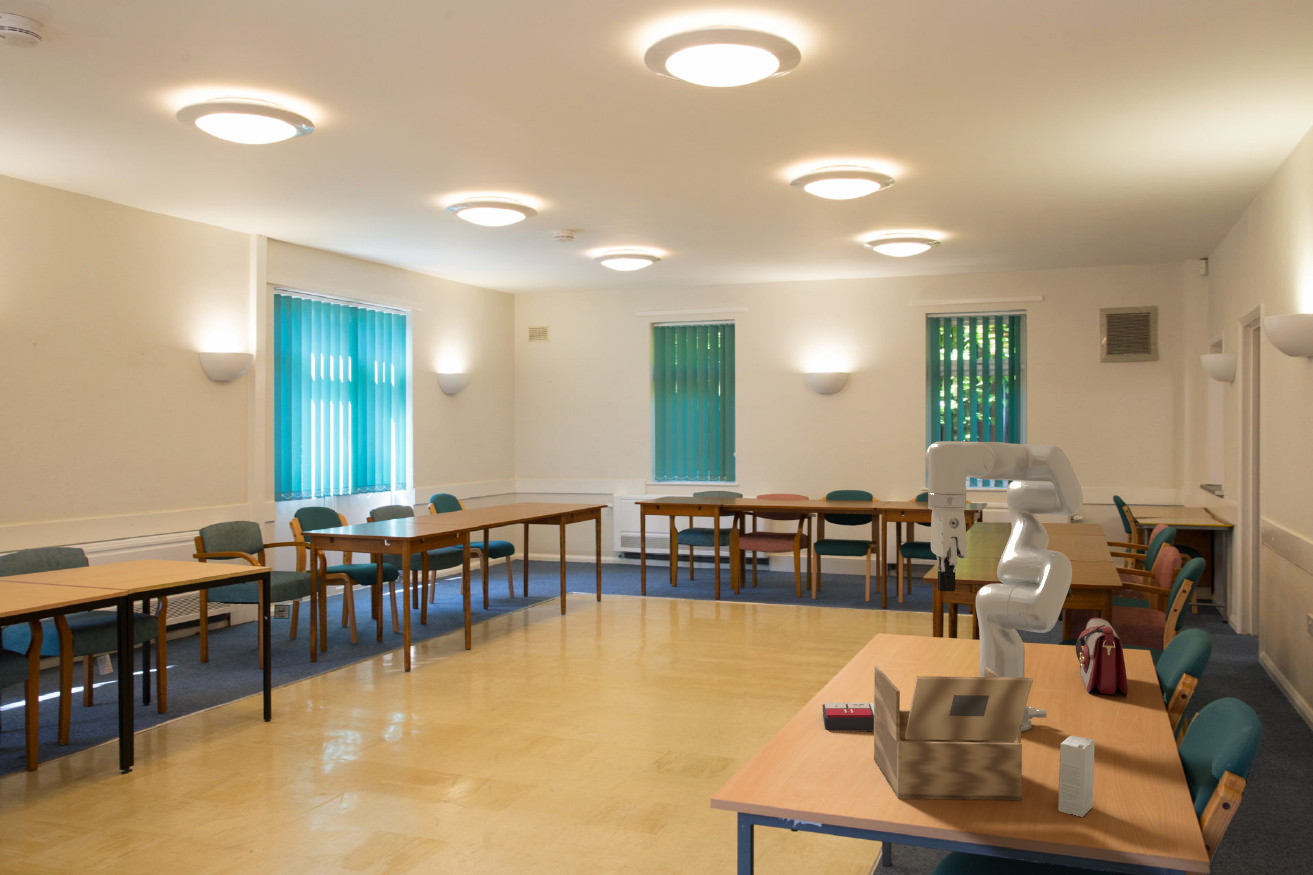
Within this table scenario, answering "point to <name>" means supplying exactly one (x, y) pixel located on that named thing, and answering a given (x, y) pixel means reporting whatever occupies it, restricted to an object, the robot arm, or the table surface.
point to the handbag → (1101, 658)
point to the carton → (941, 757)
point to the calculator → (848, 716)
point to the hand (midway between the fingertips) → (946, 590)
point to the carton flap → (967, 708)
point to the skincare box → (1076, 775)
